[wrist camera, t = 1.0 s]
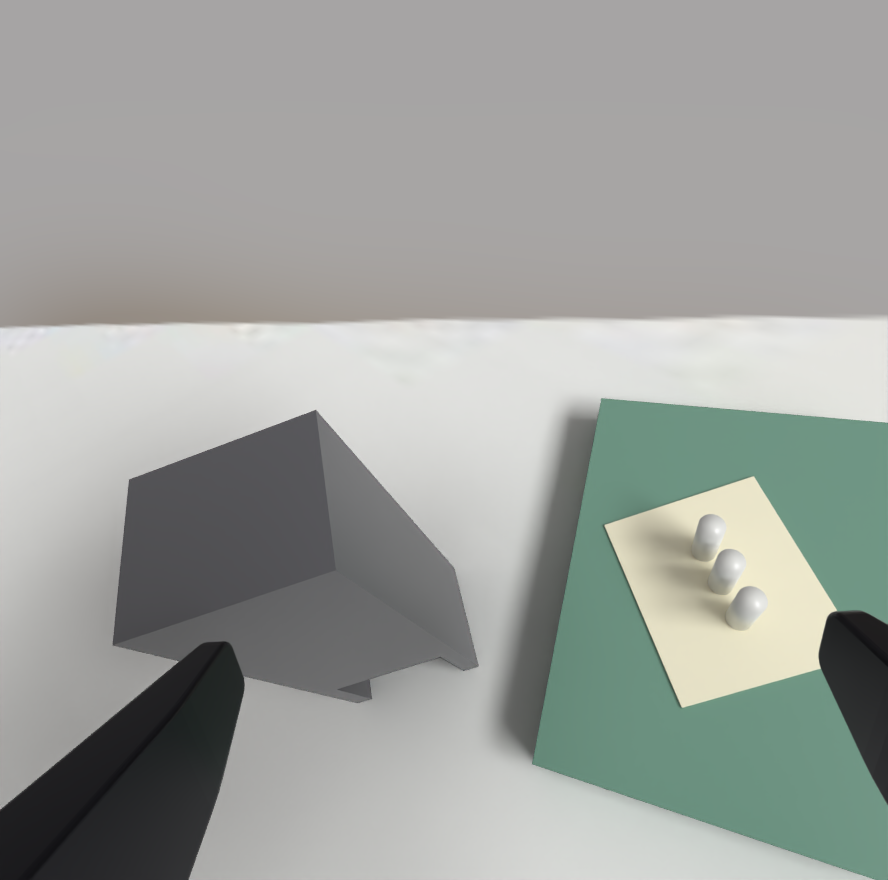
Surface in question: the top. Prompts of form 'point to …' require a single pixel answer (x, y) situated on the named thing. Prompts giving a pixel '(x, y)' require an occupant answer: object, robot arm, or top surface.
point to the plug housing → (286, 566)
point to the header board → (723, 622)
